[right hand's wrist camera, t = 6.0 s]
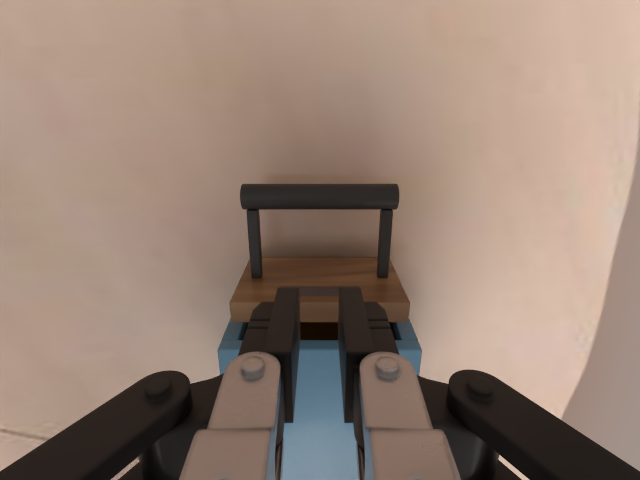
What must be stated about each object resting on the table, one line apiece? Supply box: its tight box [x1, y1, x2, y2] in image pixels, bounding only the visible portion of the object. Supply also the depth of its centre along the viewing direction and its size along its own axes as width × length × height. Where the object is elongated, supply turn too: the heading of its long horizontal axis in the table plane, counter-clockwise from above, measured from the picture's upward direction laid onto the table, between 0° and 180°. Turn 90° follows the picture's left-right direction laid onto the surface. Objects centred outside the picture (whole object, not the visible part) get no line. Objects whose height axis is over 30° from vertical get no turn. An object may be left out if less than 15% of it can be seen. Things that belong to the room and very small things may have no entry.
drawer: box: [230, 184, 410, 340], centre depth 23 cm, size 22×9×6 cm, turn 0°
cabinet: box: [218, 318, 422, 480], centre depth 25 cm, size 17×10×8 cm, turn 0°
